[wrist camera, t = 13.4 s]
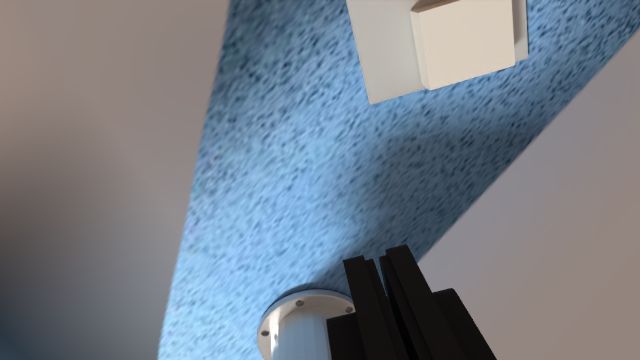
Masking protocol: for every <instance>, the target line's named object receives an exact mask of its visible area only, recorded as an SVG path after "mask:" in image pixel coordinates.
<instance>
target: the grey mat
mask: <svg viewBox="0 0 640 360" xmlns="http://www.w3.org/2000/svg"><path fill="white" fill-rule="evenodd" d="M442 1H445V0H416V1H414V0H346V3H347V7H348V12H349V16H350V20H351V25H352V29H353V34H354V38H355V43H356V47H357V51H358V56H359V60H360V65H361V69H362V73H363V78H364V82H365V87H366V91H367V95H368V100H369V104H370V105H371V104H375V103H378V102H382V101H385V100H388V99H392V98H395V97H398V96H402V95H405V94H408V93H412V92H415V91H419V90H422V89H425V88H426V87H425V86H423V85H422V83H421V77H420V71H419V65H418V59H417V53H416V47H415V40H414V34H413V28H412V22H411V16H410V11H412V10H416V9H419V8H422V7H425V6H429V5H432V4H435V3H439V2H442ZM512 16H513V34H514V51H515V62H516V61H520V60H523V59H526V58H528V43H527V20H526V0H512Z"/></svg>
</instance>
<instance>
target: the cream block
mask: <svg viewBox="0 0 640 360" xmlns="http://www.w3.org/2000/svg"><path fill="white" fill-rule="evenodd" d="M410 16H411V22H412V28H413V34H414V40H415V47H416V53H417V59H418V65H419V71H420V77H421V83H422V85H423V86H425V87H426V88H428V89H429V90H433V89H437V88H440V87H444V86H447V85H450V84H454V83H457V82H460V81H464V80H467V79H471V78H474V77H477V76H481V75H484V74H487V73H491V72H494V71H497V70H501V69H504V68H508V67H511V66H514V65H515V51H514V34H513V16H512V0H445V1H442V2H439V3H435V4H432V5H429V6H425V7H422V8H419V9H416V10H412V11H410Z"/></svg>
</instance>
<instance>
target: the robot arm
mask: <svg viewBox="0 0 640 360" xmlns="http://www.w3.org/2000/svg"><path fill="white" fill-rule="evenodd" d="M385 251H386V255H385V256H381V257H379V261H380V266H381V271H382V275H383V280H384V285H385V290H386V294H385V291H384V288H383V285H382V283H381V280H380V277H379V274H378V271H377V269H376V266H375V263H374V261H373V259H369V260H365V259H364V256H363V255H362V256H358V257H354V258H350V259H346V260H343V263H344V267H345V271H346V275H347V279H348V283H349V287H350V291H351V295H352V299H351V298H349V297H348V296H345V295H343V294H341V293H338V292H334V291H330V290H319V289H315V290H305V291H301V292H296V293H293V294H291V295H288V296H286V297H284V298H282V299H281V300H279V301H277V302H276V303H274V304H273V305H272V306H271V307H270V308H269V309H268V310H267V311H266V313H265V314H264V315H263V317H262V319H261V321H260V323H259V327H258V332H257V344H258V349H259V351H260V353H261V355H262V357H263V358H264V360H497V359H496V357H495V356H494V354H493V353H492V351H491V349H490V348H489V346H488V344H487V342H486V341H485V339H484V338H483V336H482V334H481V333H480V331H479V329H478V328H477V326H476V324H475V323H474V321H473V319H472V318H471V316H470V314H469V313H468V311H467V309H466V308H465V306H464V304H463V303H462V301H461V300H460V298H459V296H458V295H457V293H456V292H455V290H454V289H452V288H450V289H446V290H442V291H438V292H433V293H432V292H431V290H430V288H429V286H428V284H427V282H426V280H425V278H424V276H423V274H422V273H421V271H420V269H419V267H418V265H417V263H416V261H415V259H414V257H413V255H412V253H411V251H410V249H409V248H408V246H407V245H402V246H398V247H394V248H390V249H386V250H385ZM386 295H387V296H386Z"/></svg>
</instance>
